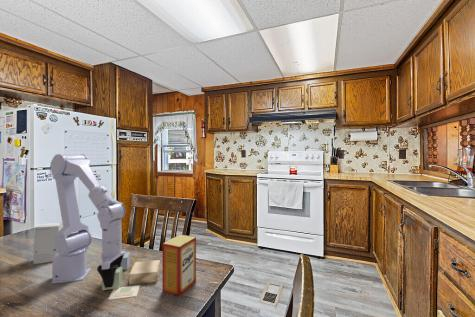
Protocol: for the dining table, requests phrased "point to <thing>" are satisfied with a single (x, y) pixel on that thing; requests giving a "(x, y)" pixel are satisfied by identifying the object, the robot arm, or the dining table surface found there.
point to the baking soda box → (179, 264)
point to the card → (124, 292)
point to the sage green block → (115, 280)
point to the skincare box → (45, 242)
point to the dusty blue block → (125, 261)
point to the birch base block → (144, 272)
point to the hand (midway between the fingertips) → (112, 280)
